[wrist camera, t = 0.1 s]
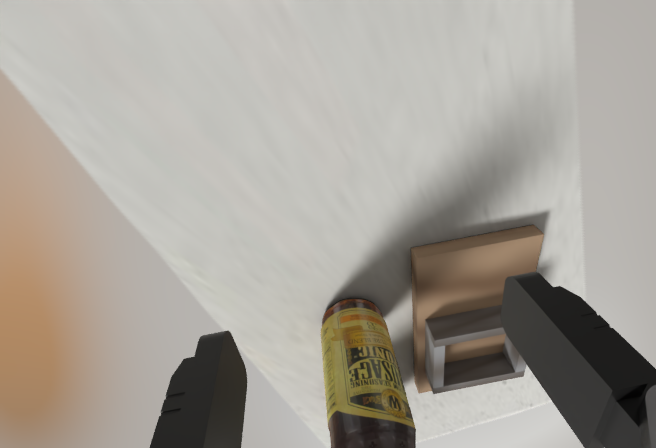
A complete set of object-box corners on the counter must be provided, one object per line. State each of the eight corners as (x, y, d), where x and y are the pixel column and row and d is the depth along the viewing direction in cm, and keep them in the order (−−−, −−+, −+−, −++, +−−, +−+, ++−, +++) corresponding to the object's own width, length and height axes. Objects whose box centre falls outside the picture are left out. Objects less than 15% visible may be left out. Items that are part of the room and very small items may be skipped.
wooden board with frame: (410, 247, 31) (426, 278, 28) (533, 224, 31) (563, 252, 28) (414, 381, 42) (426, 414, 39) (505, 363, 42) (524, 395, 39)
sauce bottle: (393, 305, 35) (497, 587, 18) (359, 345, 37) (422, 623, 21) (337, 284, 33) (396, 586, 16) (304, 328, 35) (326, 626, 18)
